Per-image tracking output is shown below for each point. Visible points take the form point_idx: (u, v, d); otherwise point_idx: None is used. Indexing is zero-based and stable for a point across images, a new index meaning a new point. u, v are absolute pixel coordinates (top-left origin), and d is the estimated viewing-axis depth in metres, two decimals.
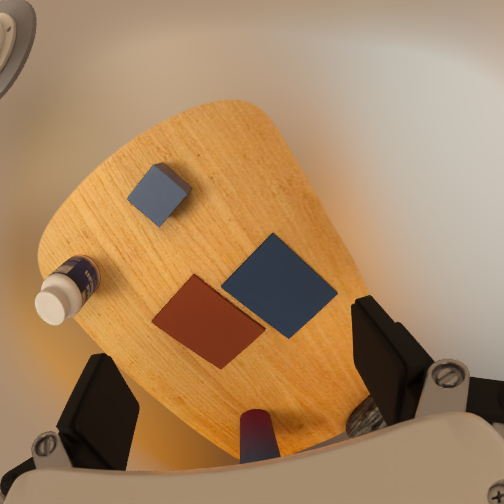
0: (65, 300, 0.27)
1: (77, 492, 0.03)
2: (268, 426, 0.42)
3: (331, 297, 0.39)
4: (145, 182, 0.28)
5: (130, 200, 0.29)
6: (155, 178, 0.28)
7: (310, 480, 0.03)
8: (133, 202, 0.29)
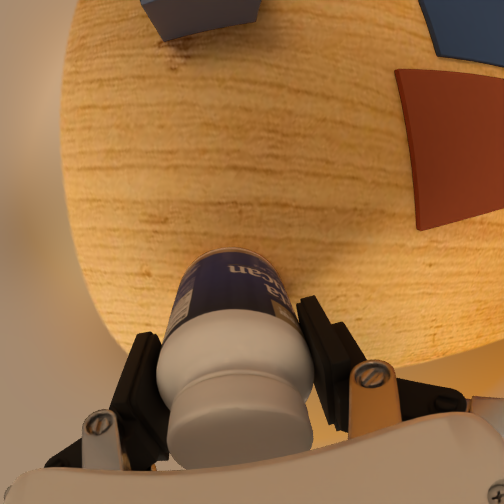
0: (259, 380, 0.07)
1: (77, 492, 0.03)
2: None
3: None
4: None
5: None
6: None
7: (309, 480, 0.03)
8: None
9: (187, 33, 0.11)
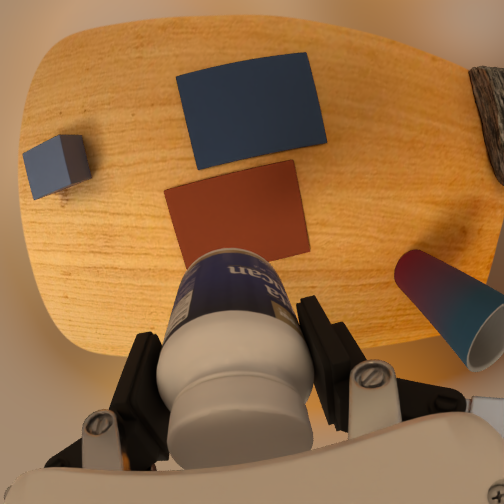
0: (259, 381, 0.07)
1: (77, 492, 0.03)
2: (428, 260, 0.28)
3: (305, 61, 0.24)
4: (30, 171, 0.21)
5: (36, 197, 0.22)
6: (32, 159, 0.21)
7: (310, 480, 0.03)
8: (39, 195, 0.22)
9: None
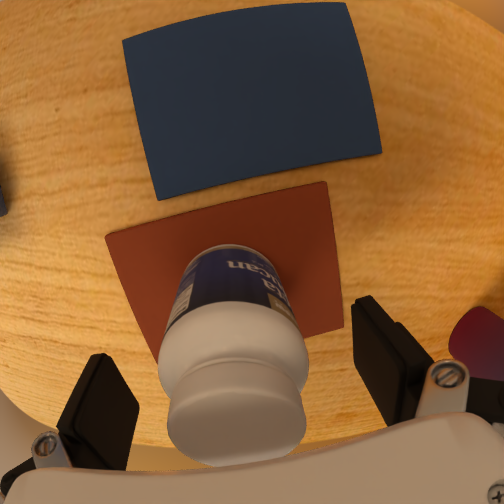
0: (254, 367, 0.08)
1: (77, 492, 0.03)
2: (500, 328, 0.16)
3: (345, 15, 0.12)
4: None
5: None
6: None
7: (309, 479, 0.03)
8: None
9: None
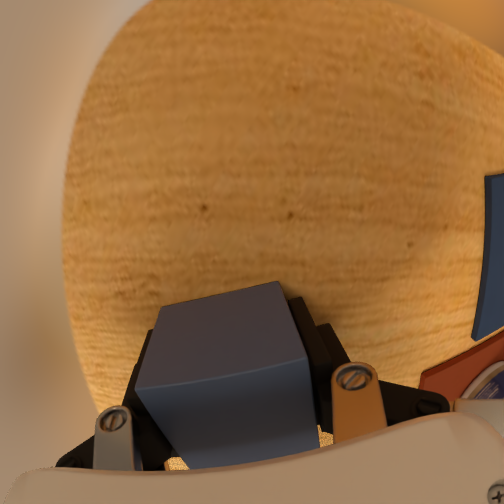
0: None
1: (77, 492, 0.03)
2: None
3: None
4: (178, 432, 0.08)
5: None
6: (182, 409, 0.07)
7: (310, 479, 0.03)
8: (211, 467, 0.08)
9: None
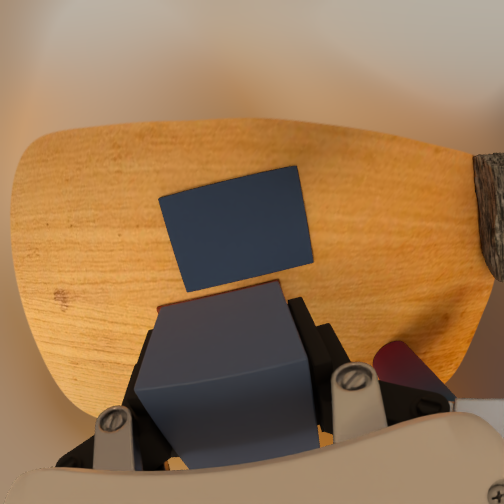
0: None
1: (77, 492, 0.03)
2: (404, 358, 0.30)
3: (295, 176, 0.25)
4: (177, 432, 0.08)
5: None
6: (181, 409, 0.07)
7: (310, 479, 0.03)
8: None
9: None
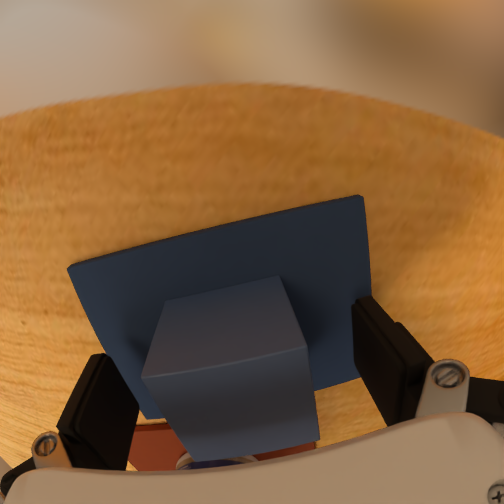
0: None
1: (77, 492, 0.03)
2: None
3: (360, 221, 0.11)
4: (182, 420, 0.08)
5: (204, 459, 0.09)
6: (186, 397, 0.08)
7: (310, 479, 0.03)
8: (214, 457, 0.09)
9: None
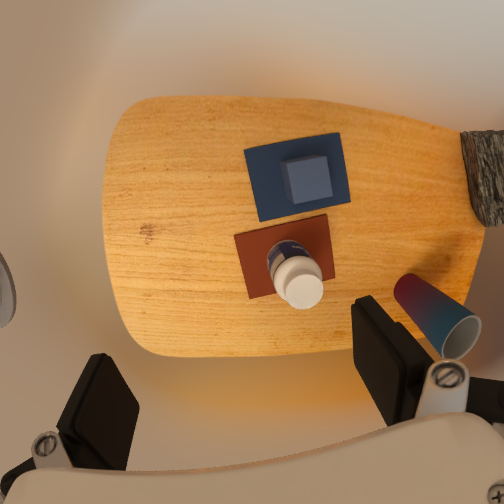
0: (309, 271, 0.31)
1: (77, 492, 0.03)
2: (418, 283, 0.39)
3: (338, 140, 0.35)
4: (294, 180, 0.32)
5: (297, 201, 0.33)
6: (297, 170, 0.32)
7: (310, 479, 0.03)
8: (301, 200, 0.33)
9: None
